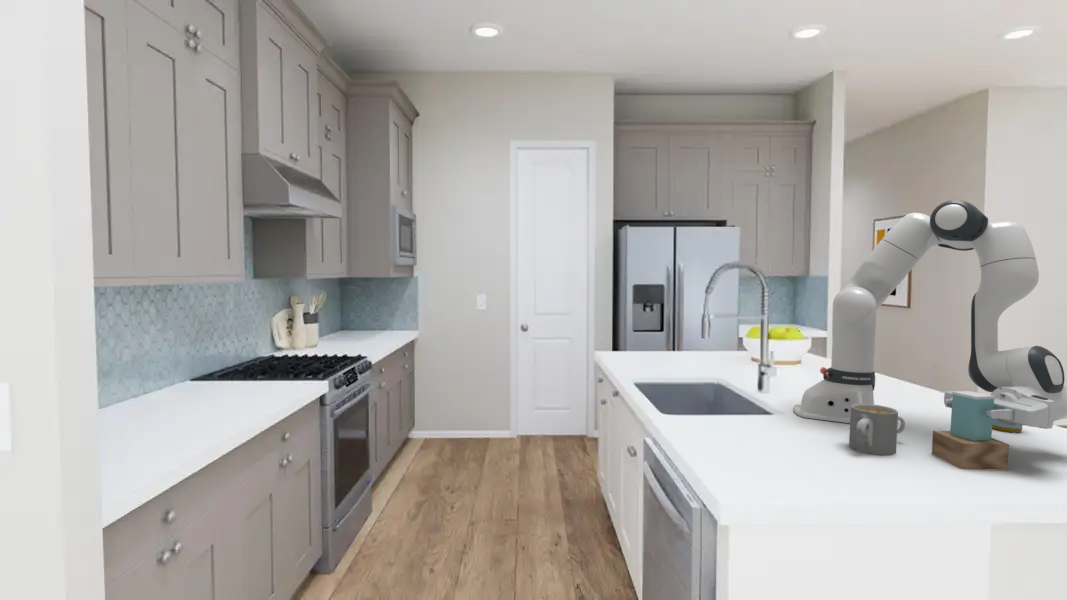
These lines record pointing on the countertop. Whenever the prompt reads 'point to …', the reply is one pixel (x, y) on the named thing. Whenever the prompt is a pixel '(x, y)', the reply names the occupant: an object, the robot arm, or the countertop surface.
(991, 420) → the tea tin
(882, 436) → the coffee mug
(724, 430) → the countertop surface
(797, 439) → the countertop surface
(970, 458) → the walnut block
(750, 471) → the countertop surface
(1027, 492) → the countertop surface
